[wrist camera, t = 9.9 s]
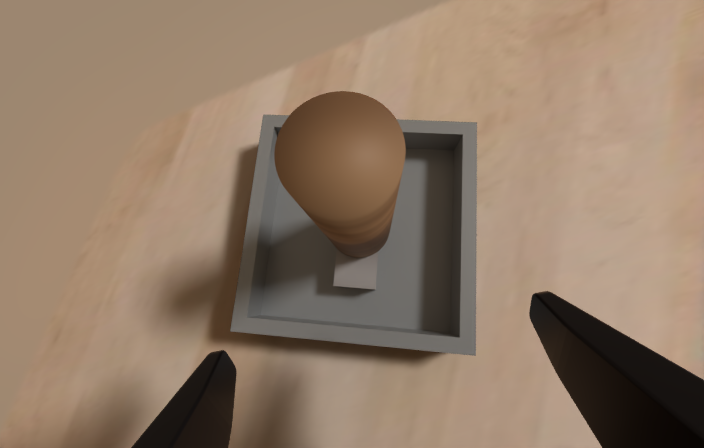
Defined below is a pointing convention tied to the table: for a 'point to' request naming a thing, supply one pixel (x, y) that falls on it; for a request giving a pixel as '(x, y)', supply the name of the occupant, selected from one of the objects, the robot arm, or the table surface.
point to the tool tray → (393, 258)
